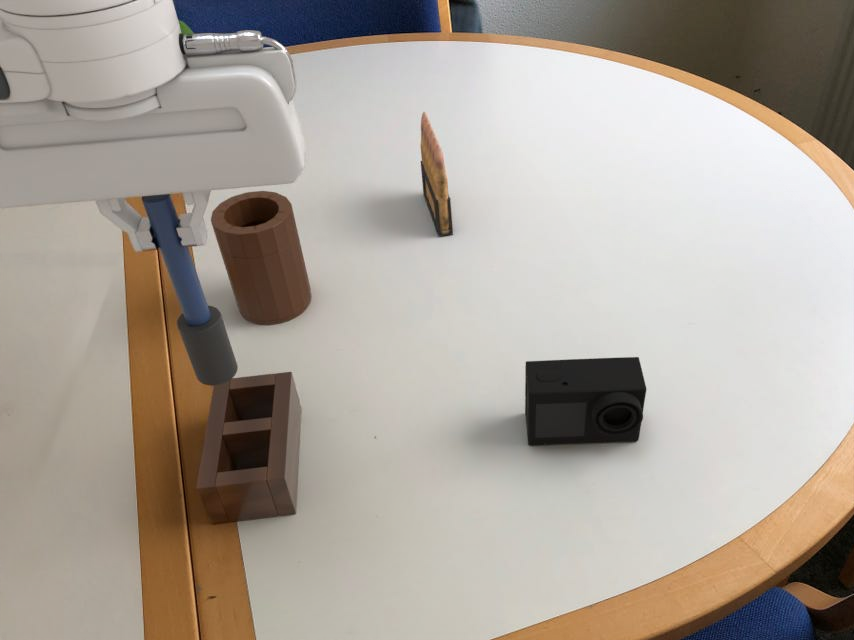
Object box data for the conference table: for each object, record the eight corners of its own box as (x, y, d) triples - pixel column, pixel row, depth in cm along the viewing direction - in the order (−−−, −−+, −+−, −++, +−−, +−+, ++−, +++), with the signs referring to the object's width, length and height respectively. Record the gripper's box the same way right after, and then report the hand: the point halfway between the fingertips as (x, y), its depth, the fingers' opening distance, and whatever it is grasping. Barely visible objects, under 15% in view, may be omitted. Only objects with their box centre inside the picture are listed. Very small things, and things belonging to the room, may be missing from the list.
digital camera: (527, 456, 73) (528, 403, 68) (524, 412, 77) (524, 360, 72) (641, 451, 73) (649, 398, 68) (631, 408, 77) (639, 355, 72)
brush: (193, 388, 61) (125, 210, 50) (199, 360, 64) (135, 184, 53) (235, 383, 62) (176, 205, 51) (239, 356, 64) (183, 180, 53)
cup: (235, 328, 87) (206, 237, 79) (242, 283, 93) (216, 194, 85) (310, 320, 88) (289, 229, 80) (312, 276, 94) (292, 187, 86)
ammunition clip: (423, 193, 107) (415, 109, 99) (436, 191, 107) (429, 107, 99) (438, 237, 99) (431, 149, 91) (453, 234, 99) (447, 147, 91)
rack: (212, 524, 68) (195, 488, 65) (227, 416, 78) (214, 379, 74) (296, 514, 69) (284, 478, 65) (301, 407, 78) (291, 371, 75)
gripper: (289, 8, 48) (325, 206, 57) (-63, 33, 47) (34, 232, 56) (282, 49, 43) (323, 256, 53) (-108, 78, 42) (6, 286, 51)
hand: (172, 244), depth 54 cm, fingers closed on brush, 2 cm apart
